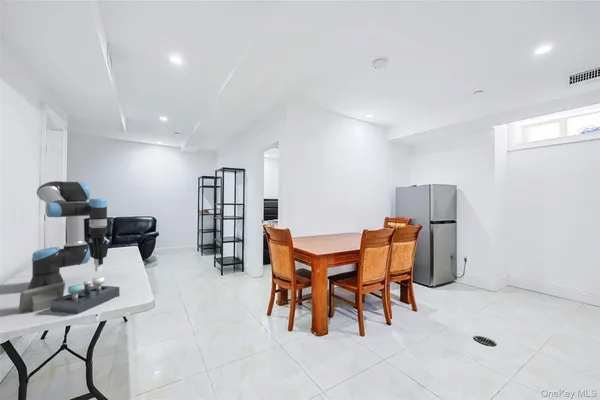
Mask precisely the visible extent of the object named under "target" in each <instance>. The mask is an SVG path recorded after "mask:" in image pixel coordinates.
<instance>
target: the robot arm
mask: <svg viewBox="0 0 600 400" xmlns="http://www.w3.org/2000/svg"><path fill="white" fill-rule="evenodd" d="M36 195H37V197H38V198H39V199H40V200H41V201H43V202H44V203H45V215H46V217H47V218H65V221H66V225H65V226H66V228H65V229H66V243H65V244H64V245H63V248H60V247H59V246H53V247H51V246H50V247H46V248H42V249H39V250H36V251H34V252H33V253H32V257H31V261H32V262H31V264H32V265H31V267H32V269H31V270H32V273H31V275H32V276H31V280H30V281H29V284H28V286H27V287H28V289H27V290H30V289H34V288H39V287H43V286H47V285H52V284H56V283H62V282H64V279H63V277H62V274H61V271H60V270H61V268H66V267H73V266H80V265H84V264H87V263H89V262H90V259H91V258H92V259H93V260H94V266H95V267H94V271H95V272H100V271H103V265H104V259H105V258H107V256H108V251H109V250H108V249H109V245H110V243H111V239H107V234H108V227H107V226H108V203H107V199H106V198H91V191H90V187H89V185H88V183H85V182H82V181H81V182H80V181H58V180H57V181H55V180H53V181H49V182H45V183H43V184H42V185H39V187H38V188H37V190H36ZM85 217H89V219H88V222H89V223H88V227H89V229H88V234H89V235H90V238H89V239H87V240H85ZM64 283H65V282H64Z"/></svg>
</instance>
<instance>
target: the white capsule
mask: <svg viewBox="0 0 600 400" xmlns="http://www.w3.org/2000/svg"><path fill="white" fill-rule="evenodd" d="M91 284H92V281H91V280H87V281H84V282H83V285H84V288H83V289H84V294H90V287H91Z"/></svg>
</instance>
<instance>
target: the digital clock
mask: <svg viewBox="0 0 600 400" xmlns="http://www.w3.org/2000/svg"><path fill="white" fill-rule="evenodd" d="M65 288H66V282H62V283H56V284H52V285H47V286H43V287H39V288H34V289H30V290H28V289H26V290H23V291H21V292H20V295H19V297H20V299H19V303H18V311H19V312H21V313H22V312H26V311H27V312H28V311H31V312H33V313H35V312H39V311H44V310H46V309H51V300H54V299H57V298H60V297H63V296H65Z"/></svg>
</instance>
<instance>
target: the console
mask: <svg viewBox="0 0 600 400" xmlns="http://www.w3.org/2000/svg"><path fill="white" fill-rule="evenodd" d="M115 297H116V298H119V297H120V286H112V285H110V286H109V285H101V291H98V292H96V285H92V286H91V285H90V294H84V288H82V291H80V292H78V299H77V300H75V301H73V298H72V293H68V294H65V295H63V297H60V298H57V299H54V300H51V307H50V312H54V313H55V312H56V313H66V314H74V315H75V314H76V315H79V314H81V313H83V312H86V311H88V310H90V309H93V308H95V307H98V306H99V305H102V304H104V303H107V302H109V301H111V300H113V298H114V299H116V298H115Z"/></svg>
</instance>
